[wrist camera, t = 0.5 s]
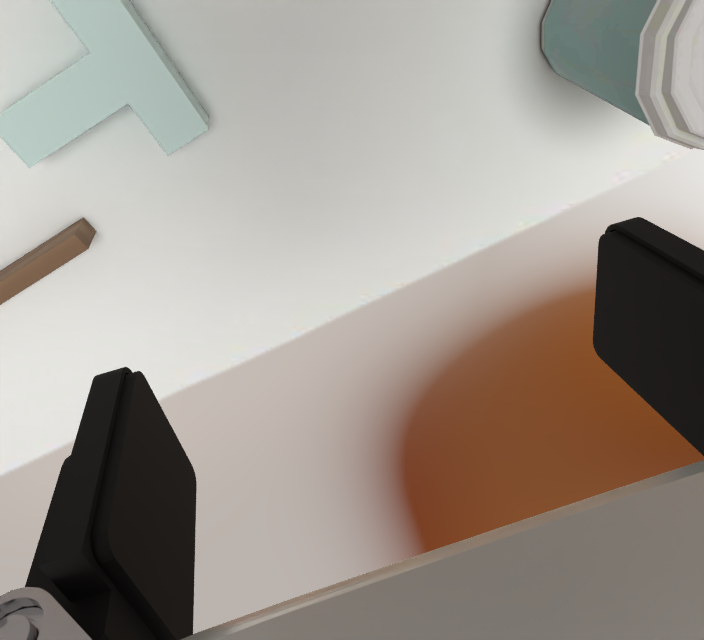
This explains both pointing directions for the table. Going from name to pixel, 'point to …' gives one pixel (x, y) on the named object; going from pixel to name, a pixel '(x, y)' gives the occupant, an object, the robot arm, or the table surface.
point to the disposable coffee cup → (635, 59)
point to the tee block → (105, 86)
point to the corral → (45, 259)
